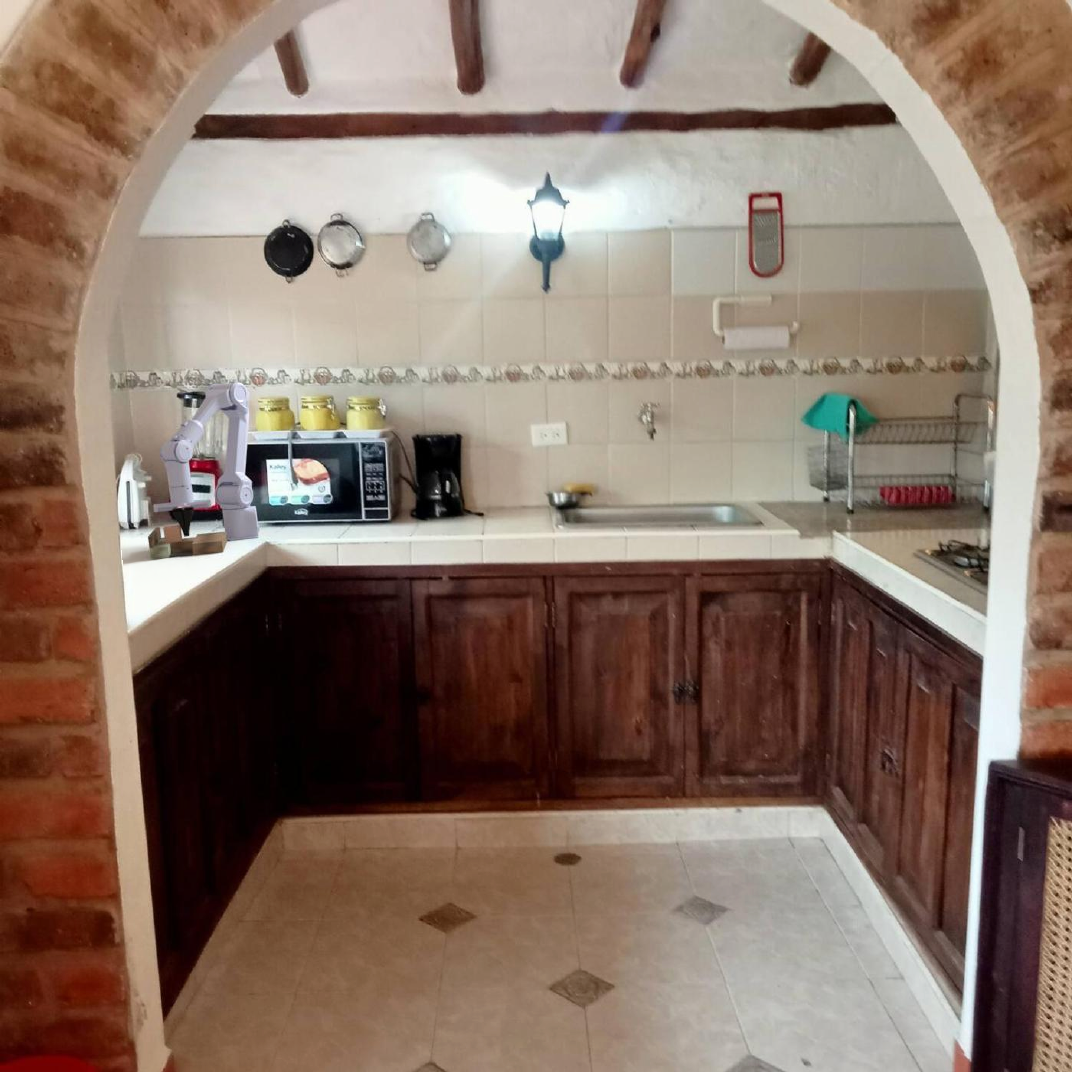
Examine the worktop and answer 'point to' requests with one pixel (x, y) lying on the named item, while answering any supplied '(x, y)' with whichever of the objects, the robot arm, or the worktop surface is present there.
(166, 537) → the block
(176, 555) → the board
